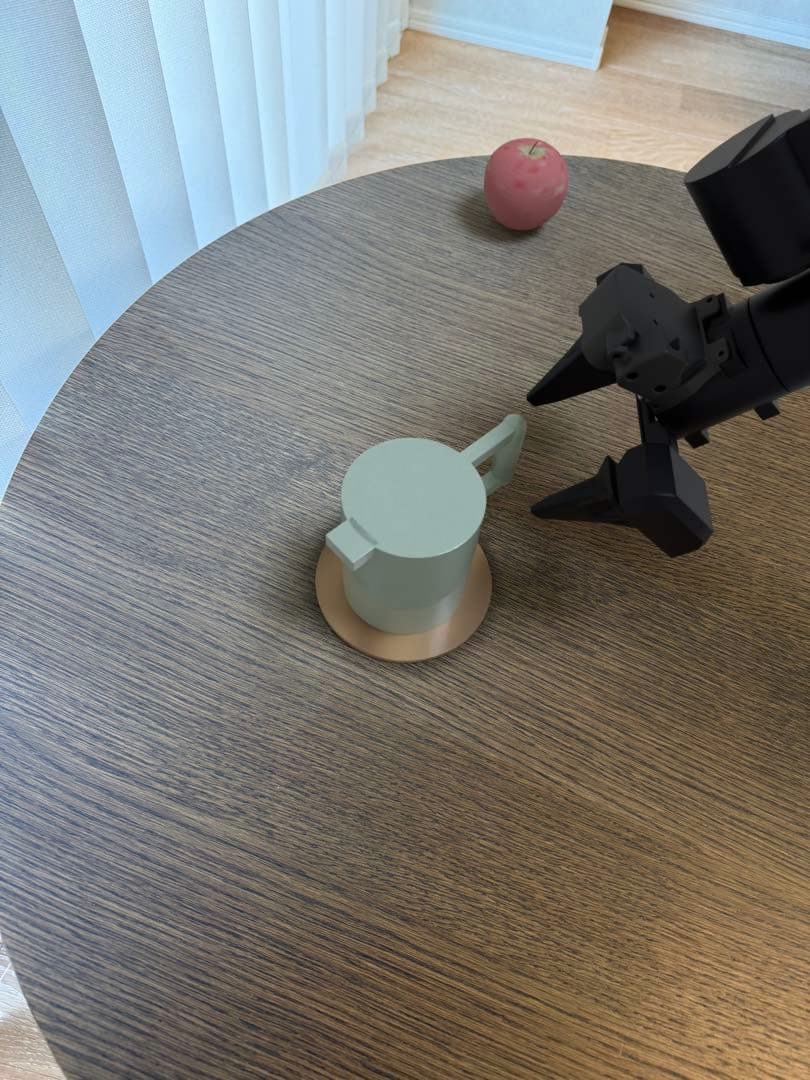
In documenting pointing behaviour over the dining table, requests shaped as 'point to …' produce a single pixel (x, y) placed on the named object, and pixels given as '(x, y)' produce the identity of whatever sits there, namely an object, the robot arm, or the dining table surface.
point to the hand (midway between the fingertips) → (531, 454)
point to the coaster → (396, 644)
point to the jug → (417, 525)
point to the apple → (525, 183)
